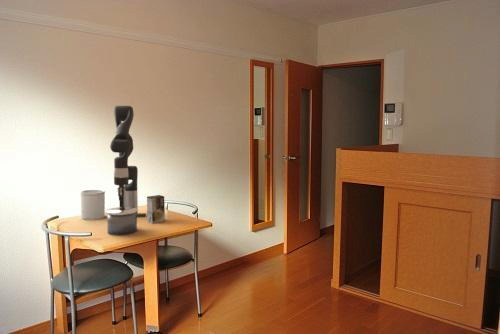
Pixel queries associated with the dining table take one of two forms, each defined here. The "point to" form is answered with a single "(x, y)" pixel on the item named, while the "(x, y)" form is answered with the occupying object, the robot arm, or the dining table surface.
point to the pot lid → (122, 211)
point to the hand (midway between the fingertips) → (121, 206)
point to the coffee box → (155, 209)
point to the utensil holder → (92, 204)
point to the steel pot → (123, 223)
